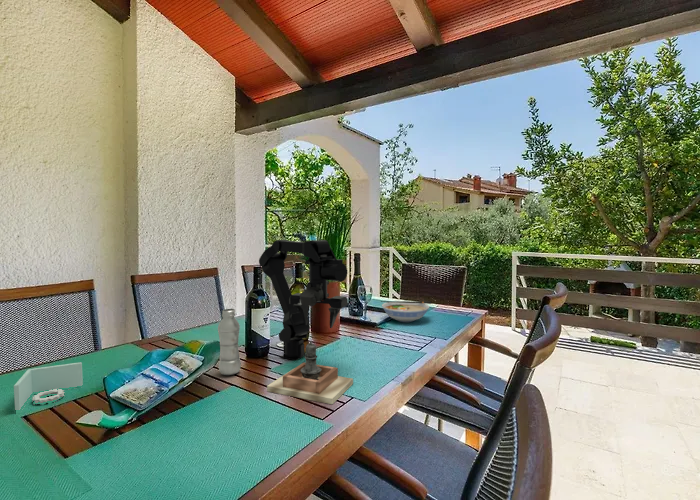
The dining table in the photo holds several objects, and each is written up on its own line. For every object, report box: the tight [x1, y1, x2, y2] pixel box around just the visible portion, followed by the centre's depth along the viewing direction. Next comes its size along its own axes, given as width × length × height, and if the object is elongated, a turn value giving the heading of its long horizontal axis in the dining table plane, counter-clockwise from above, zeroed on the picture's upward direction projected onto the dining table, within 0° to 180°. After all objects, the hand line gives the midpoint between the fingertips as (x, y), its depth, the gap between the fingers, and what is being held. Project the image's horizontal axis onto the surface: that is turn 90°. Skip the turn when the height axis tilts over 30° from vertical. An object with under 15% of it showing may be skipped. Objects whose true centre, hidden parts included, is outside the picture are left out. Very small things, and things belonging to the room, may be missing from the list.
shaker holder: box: [266, 362, 354, 405], centre depth 108 cm, size 20×14×4 cm
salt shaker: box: [301, 340, 321, 380], centre depth 108 cm, size 6×6×12 cm
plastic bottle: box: [217, 308, 242, 376], centre depth 118 cm, size 6×7×20 cm
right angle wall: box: [13, 362, 84, 411], centre depth 101 cm, size 12×12×8 cm
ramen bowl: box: [380, 300, 432, 323], centre depth 184 cm, size 25×23×8 cm
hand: (318, 326), depth 124 cm, fingers open, 9 cm apart
